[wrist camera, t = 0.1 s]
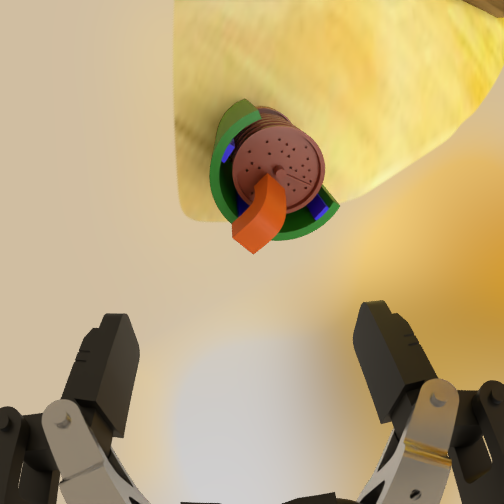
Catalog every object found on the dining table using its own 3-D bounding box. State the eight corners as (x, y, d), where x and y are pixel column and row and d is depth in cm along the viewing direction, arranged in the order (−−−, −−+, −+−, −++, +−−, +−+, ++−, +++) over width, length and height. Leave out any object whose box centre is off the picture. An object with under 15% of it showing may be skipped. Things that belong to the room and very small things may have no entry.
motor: (313, 136, 35) (389, 198, 18) (271, 193, 39) (304, 297, 22) (242, 88, 32) (255, 98, 15) (200, 151, 36) (172, 229, 19)
